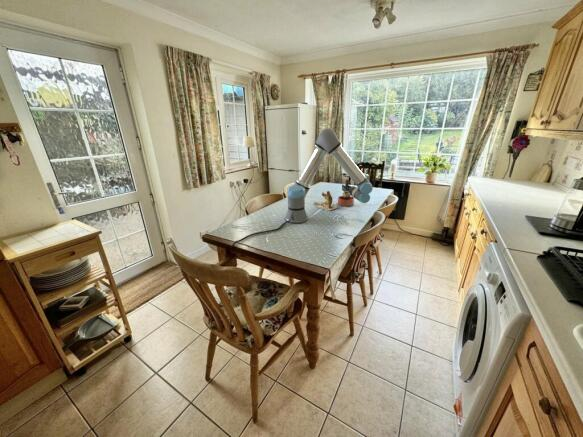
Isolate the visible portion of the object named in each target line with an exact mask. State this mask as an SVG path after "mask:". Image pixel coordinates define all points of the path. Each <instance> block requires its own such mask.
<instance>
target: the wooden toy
mask: <svg viewBox="0 0 583 437" xmlns="http://www.w3.org/2000/svg"><path fill="white" fill-rule="evenodd" d="M321 196H322V197H323V198H324V200H321V201H320V202H317V201H314V202H313V204H315V205H316V207H317V208H320V209H322V210H326V211H328V212H331V211H334V210H338V209H339V208H338V206H334V205H332V204H333V196H332V194H331V192H330V190H327V191H326V192H323V191H322V192H321Z"/></svg>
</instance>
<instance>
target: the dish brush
mask: <svg viewBox="0 0 583 437" xmlns="http://www.w3.org/2000/svg"><path fill="white" fill-rule="evenodd" d="M349 184H350V179H349V178H348V179H347V178H346V179H345V184H344V185H345V186H346V187H347V188H348V187H349V186H350V185H349ZM341 196H343V198H344V199H345V200H347V199H350V196H351V195H350V193H348V192H346V193H344V191H342V195H341Z"/></svg>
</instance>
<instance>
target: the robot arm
mask: <svg viewBox="0 0 583 437" xmlns="http://www.w3.org/2000/svg"><path fill="white" fill-rule="evenodd" d="M342 145H343V144H342V142H341V141H340V140H339V138H338V135H337V133H336V132H335V130H333V129H331V128H325V129H323V130H322V131H321V132H320V133H319V134H318V137H317V139H316V141H315V143H314V150H313V152H312V154H311V155H310V157H309V159H308V161H307V163H306V165H305V167H304V169H303V171H302V173H301V175H300V176H299V178H296V180H295V182H294V184H293V185H291V186H288V188H287V194H286V195H287V212H286V215H285V221H284V222H283V223H282V224H281V225H280V226H279V227H277V228H273V229H269V230H264V231H259V232H253V233H250V234H247V235H246V236H244V237H241V239H237V240H235V241H234V242H233V243H232V245H231V248H234V247H235V245H236V244H237V243H239V242H243V241H244V240H246V239H248V238H249V237H251V236H254V235H259V234H265V233H270V232H276V231H279V230H280V229H281V228H282V227H283V226H285V225H286V224H287V223H291V224H303V223H305V222H307V221H308V214H307V212H306V209H305V207H306V205H305V204H306V203H305V201H306V196H307V194H308V192H309V191H310V189H311V183H312V181H313V179H314V177H315V175H316V174H317V172H318V170H319V168H320V166H321V165H322V162H324V159H325V157H326V156H327V155H330V156H332V157H333V159H335V161H336V163H338V165H339V166H340V167H341V169H343V171H344V172H345V173H346V174H347V175H348V177H349V178H350V179H351V181H352V182H353V183H354V184H355V185H356V186H354V185H349V187H348V188H347V187H346V186H345V184H341V191H342V192H344V193H346V192H348V193H350V196H351V197H354V200H357V201H358V202H360V203H361V204H367V203H368V202H370V200H371V195H370V194H371V193H372V192H373V184H372V183H371V182H370V174H368V173H363V172H362V171H361V170H360V168H359V166H357V164H356V163H355V162H354V160H353V159H352V158H351V156H349V154H348V153H347V152H346V150H345V149H344V147H342Z"/></svg>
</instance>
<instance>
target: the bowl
mask: <svg viewBox="0 0 583 437" xmlns="http://www.w3.org/2000/svg"><path fill="white" fill-rule="evenodd" d="M354 204H355V198H354V197H352V196H351V195H350V199H347V200H345V199H344V198H343V196H342V195H340V196H338V197H337V205H339V206H342V207H351V206H354Z"/></svg>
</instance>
